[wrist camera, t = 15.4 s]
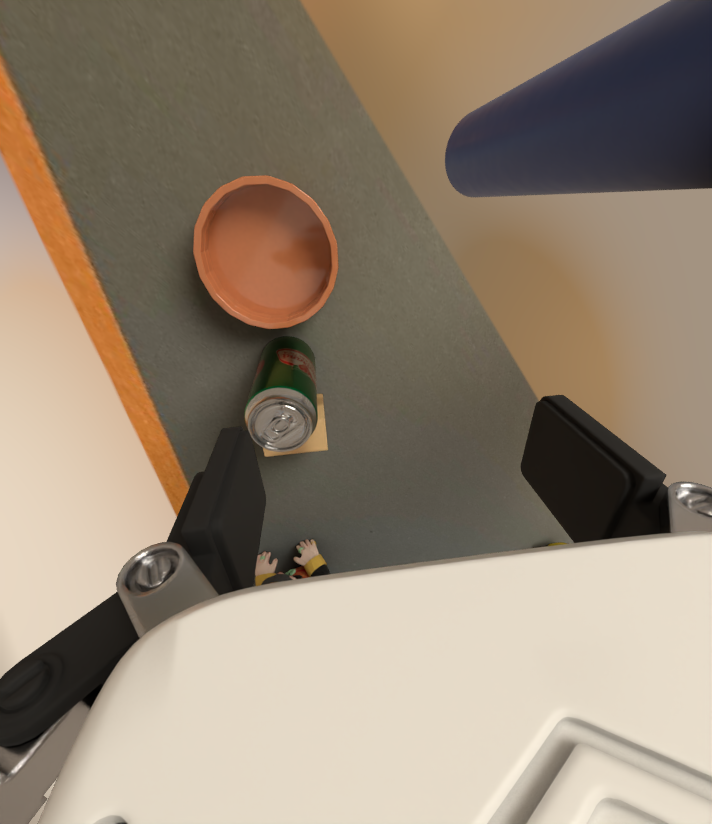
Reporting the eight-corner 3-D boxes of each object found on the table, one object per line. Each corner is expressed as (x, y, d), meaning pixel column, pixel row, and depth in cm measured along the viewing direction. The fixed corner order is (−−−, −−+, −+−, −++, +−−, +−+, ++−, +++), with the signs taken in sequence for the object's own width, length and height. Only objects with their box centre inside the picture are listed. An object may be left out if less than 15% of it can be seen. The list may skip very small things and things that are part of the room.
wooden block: (322, 393, 36) (324, 418, 32) (325, 422, 38) (327, 450, 34) (263, 398, 36) (257, 425, 32) (269, 428, 38) (264, 457, 33)
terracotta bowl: (329, 175, 27) (332, 172, 24) (339, 314, 32) (342, 323, 30) (187, 181, 26) (174, 179, 23) (221, 323, 32) (213, 333, 29)
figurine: (329, 537, 53) (296, 517, 40) (350, 604, 48) (319, 607, 35) (271, 561, 53) (218, 549, 40) (285, 631, 48) (231, 644, 35)
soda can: (325, 358, 34) (333, 424, 24) (291, 392, 36) (284, 468, 26) (285, 323, 32) (275, 378, 22) (250, 360, 34) (225, 429, 23)
